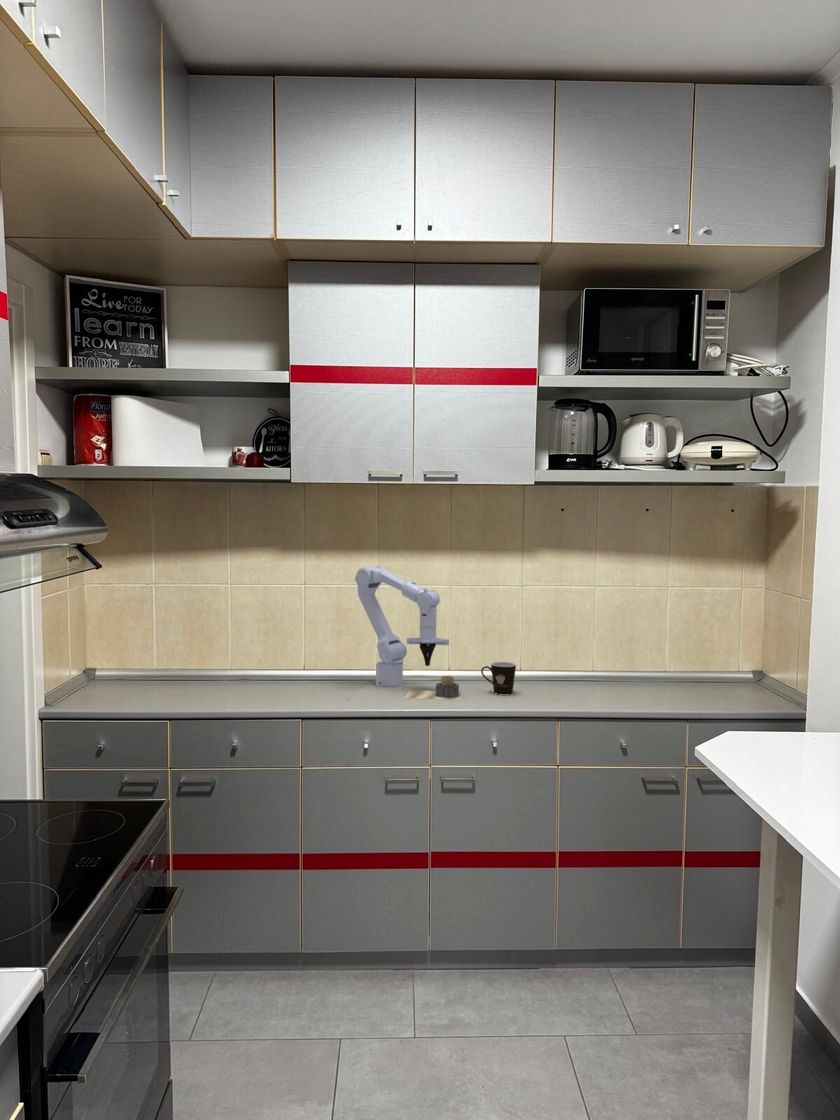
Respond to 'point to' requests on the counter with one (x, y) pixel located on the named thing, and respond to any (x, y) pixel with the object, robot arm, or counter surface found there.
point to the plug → (447, 681)
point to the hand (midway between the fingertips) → (427, 665)
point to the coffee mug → (502, 677)
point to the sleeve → (447, 691)
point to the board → (428, 695)
